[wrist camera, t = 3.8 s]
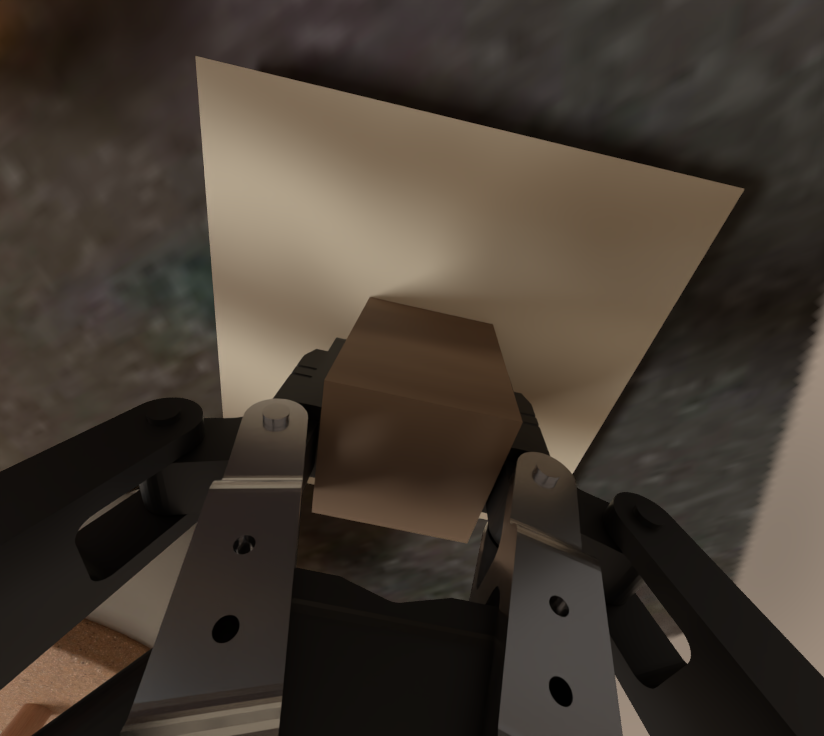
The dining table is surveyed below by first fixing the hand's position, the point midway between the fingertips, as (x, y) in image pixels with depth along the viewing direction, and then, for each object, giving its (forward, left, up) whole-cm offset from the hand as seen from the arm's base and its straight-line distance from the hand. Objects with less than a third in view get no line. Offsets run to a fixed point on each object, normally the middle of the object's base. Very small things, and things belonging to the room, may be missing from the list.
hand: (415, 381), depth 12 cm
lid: (0, 0, -2) cm, 2 cm away
